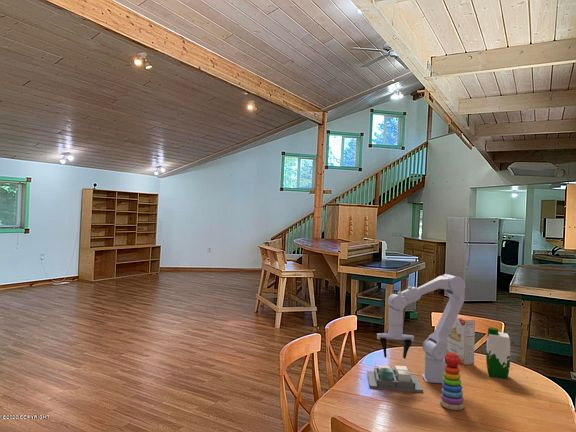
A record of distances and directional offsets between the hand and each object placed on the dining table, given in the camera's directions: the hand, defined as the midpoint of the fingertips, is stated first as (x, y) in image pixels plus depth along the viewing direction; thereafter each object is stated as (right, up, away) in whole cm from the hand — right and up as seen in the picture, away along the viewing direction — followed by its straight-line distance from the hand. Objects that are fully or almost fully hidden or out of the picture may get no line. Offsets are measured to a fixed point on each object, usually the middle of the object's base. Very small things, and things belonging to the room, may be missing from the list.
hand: (394, 357), depth 170 cm
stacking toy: (+14, -10, -23) cm, 29 cm away
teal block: (-5, -8, -6) cm, 11 cm away
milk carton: (+47, -11, +9) cm, 49 cm away
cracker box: (+38, -11, +28) cm, 49 cm away
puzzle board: (-1, -9, -3) cm, 10 cm away
